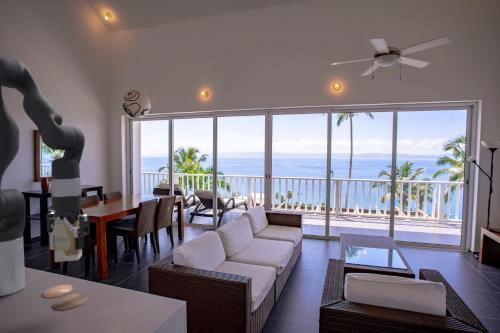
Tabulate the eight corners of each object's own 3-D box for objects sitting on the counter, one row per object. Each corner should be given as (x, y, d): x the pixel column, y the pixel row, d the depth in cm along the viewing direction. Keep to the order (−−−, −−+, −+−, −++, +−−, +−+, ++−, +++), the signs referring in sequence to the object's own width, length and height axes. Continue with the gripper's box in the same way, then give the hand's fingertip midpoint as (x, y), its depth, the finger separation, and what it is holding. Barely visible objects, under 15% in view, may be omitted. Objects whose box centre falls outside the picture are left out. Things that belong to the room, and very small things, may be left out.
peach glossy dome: (36, 296, 91) (36, 294, 91) (60, 285, 99) (59, 283, 99) (56, 300, 89) (56, 297, 89) (78, 288, 96) (78, 286, 96)
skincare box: (54, 262, 83) (52, 221, 83) (59, 257, 88) (58, 217, 87) (79, 260, 85) (77, 219, 85) (83, 255, 89) (81, 216, 89)
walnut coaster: (45, 308, 84) (45, 305, 84) (72, 294, 93) (72, 291, 93) (69, 313, 81) (69, 310, 81) (95, 298, 90) (94, 295, 90)
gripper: (36, 194, 84) (38, 250, 85) (74, 196, 80) (76, 254, 81) (59, 191, 91) (61, 242, 92) (96, 192, 87) (98, 246, 88)
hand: (68, 248), depth 86 cm, fingers closed on skincare box, 7 cm apart
